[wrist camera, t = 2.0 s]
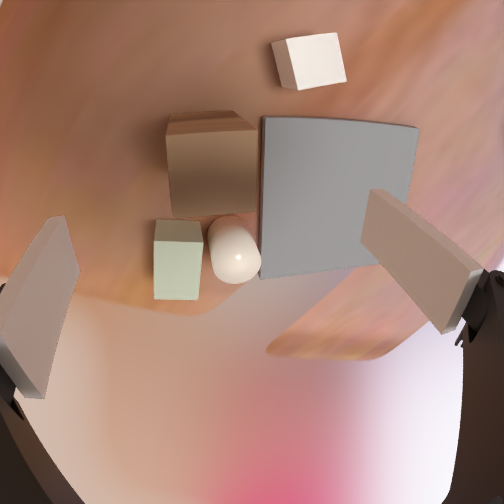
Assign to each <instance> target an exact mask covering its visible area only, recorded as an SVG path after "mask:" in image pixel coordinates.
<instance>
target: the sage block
mask: <svg viewBox="0 0 504 504" xmlns="http://www.w3.org/2000/svg"><path fill="white" fill-rule="evenodd" d="M202 252H203V237H202V231H201V225H200V221H184V220H159V219H156V225H155V235H154V299H166V300H198V294H199V283H200V272H201V262H202Z"/></svg>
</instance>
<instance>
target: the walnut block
mask: <svg viewBox="0 0 504 504" xmlns="http://www.w3.org/2000/svg"><path fill="white" fill-rule="evenodd" d="M166 149H167V163H168V175H169V186H170V196H171V206H172V216H173V219H180V218H190V217H200V216H211V215H222V214H234V213H246V212H256V195H257V149H258V130H257V129H256V128H254V127H253V126H252V125H251V124H249V123H248V122H247V121H245V120H244V119H243V118H241V117H240V116H239V115H238V114H236V113H235V112H234V111H213V112H196V113H183V114H171V115H170V119H169V123H168V127H167V132H166Z"/></svg>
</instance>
